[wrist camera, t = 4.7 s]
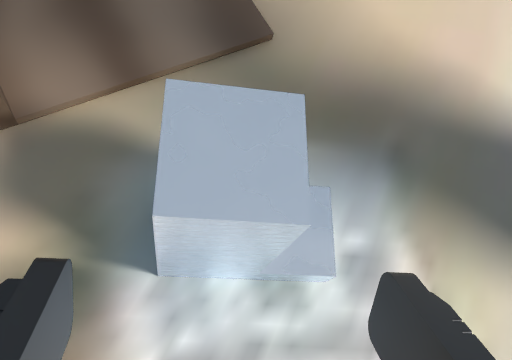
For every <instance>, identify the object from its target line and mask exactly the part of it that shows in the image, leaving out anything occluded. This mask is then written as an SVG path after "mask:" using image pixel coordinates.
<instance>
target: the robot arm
mask: <svg viewBox="0 0 512 360" xmlns="http://www.w3.org/2000/svg"><path fill="white" fill-rule="evenodd" d="M461 320H462V319H461V318H460V317H459V316H458V315H457V313H456V312H455V311H454V310H453V309H452V307H451V306H450V305H449V304H447V303H446V302H445V301H443V300H442V299H440V298H439V297H438V296H436V295H435V294H433V293H432V292H429V291H428V290H427V289H426V287H425V286H424V285H423V284H422V282H421V281H420V280H419V279H418V277H417V276H416V275H414V274H413V273H394V272H386V273H384V274H383V275H382V276H381V278H380V281H379V285H378V288H377V292H376V295H375V299H374V302H373V306H372V309H371V313H370V316H369V321H368V330H369V336H370V339H371V342H372V344H373V346H374V348H375V350H376V352H377V354H378V355H379V357H380V359H381V360H496V359H495V358H494V357H493V356H492V355H491V354H490V352H489V351H488V350H487V349H486V348H485V346H484V345H483V344H482V343H481V342H480V341H479V339H478V338H477V337H476V336H475V335H474V334H472V331H471V330H470V329H469V328H468V326H467V325H466V324H465V323H464V322H462V321H461ZM72 322H73V279H72V262H71V260H70V259H56V258H36V259H35V260H34V261H33V263H32V264H31V266H30V268H29V269H28V271H27V273H26V274H25V276H24V278H23V279H7V280H5V281H4V282H3V283H1V284H0V360H61V359H62V356H63V354H64V351H65V348H66V345H67V343H68V340H69V337H70V333H71V328H72Z"/></svg>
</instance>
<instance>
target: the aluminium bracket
mask: <svg viewBox="0 0 512 360" xmlns="http://www.w3.org/2000/svg"><path fill="white" fill-rule="evenodd" d="M152 219H153V229H154V240H155V251H156V261H157V272H158V276H171V277H199V278H227V279H254V280H282V281H309V282H326V281H328V280H330V279H332V278H334V277H336V267H335V253H334V238H333V224H332V210H331V195H330V187H320V186H309V176H308V156H307V136H306V115H305V95H304V94H295V93H287V92H278V91H269V90H261V89H252V88H243V87H235V86H226V85H217V84H209V83H200V82H191V81H183V80H174V79H166V85H165V95H164V104H163V114H162V124H161V134H160V144H159V154H158V164H157V174H156V184H155V194H154V203H153V213H152Z"/></svg>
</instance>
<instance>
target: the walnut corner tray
mask: <svg viewBox="0 0 512 360" xmlns="http://www.w3.org/2000/svg"><path fill="white" fill-rule="evenodd" d="M273 34H274V33H273V32H272V30H271V29H270V27H269V26H268V24H267V23H266V21H265V20H264V18H263V17H262V15H261V14H260V12H259V11H258V9H257V8H256V6H255V5H254V3H253V2H252V0H0V130H3V129H6V128H9V127H12V126H15V125H18V124H21V123H24V122H27V121H30V120H33V119H36V118H39V117H42V116H44V115H47V114H50V113H53V112H56V111H59V110H62V109H65V108H68V107H71V106H74V105H77V104H80V103H83V102H86V101H89V100H92V99H95V98H98V97H101V96H104V95H107V94H110V93H113V92H116V91H119V90H122V89H125V88H128V87H131V86H134V85H137V84H140V83H143V82H146V81H149V80H152V79H155V78H158V77H161V76H164V75H167V74H170V73H173V72H176V71H179V70H182V69H185V68H188V67H191V66H193V65H196V64H199V63H202V62H205V61H208V60H211V59H214V58H217V57H220V56H223V55H226V54H229V53H232V52H235V51H238V50H241V49H244V48H247V47H250V46H253V45H256V44H259V43H262V42H265V41H268V40H271V39H272V37H273Z"/></svg>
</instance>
